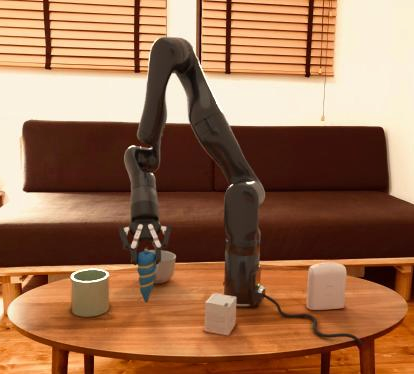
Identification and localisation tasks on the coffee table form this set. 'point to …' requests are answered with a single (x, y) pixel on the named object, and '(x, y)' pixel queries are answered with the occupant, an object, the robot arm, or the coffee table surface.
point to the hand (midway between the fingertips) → (146, 263)
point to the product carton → (220, 314)
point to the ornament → (146, 272)
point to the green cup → (89, 292)
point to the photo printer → (326, 286)
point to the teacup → (164, 267)
